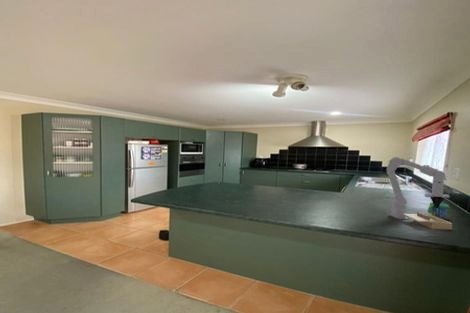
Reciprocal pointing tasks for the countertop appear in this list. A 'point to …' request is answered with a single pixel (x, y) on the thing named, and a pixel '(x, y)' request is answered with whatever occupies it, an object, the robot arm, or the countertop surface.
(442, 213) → the snack cup
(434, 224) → the mailer box
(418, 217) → the mailer lid
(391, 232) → the countertop surface
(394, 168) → the robot arm
